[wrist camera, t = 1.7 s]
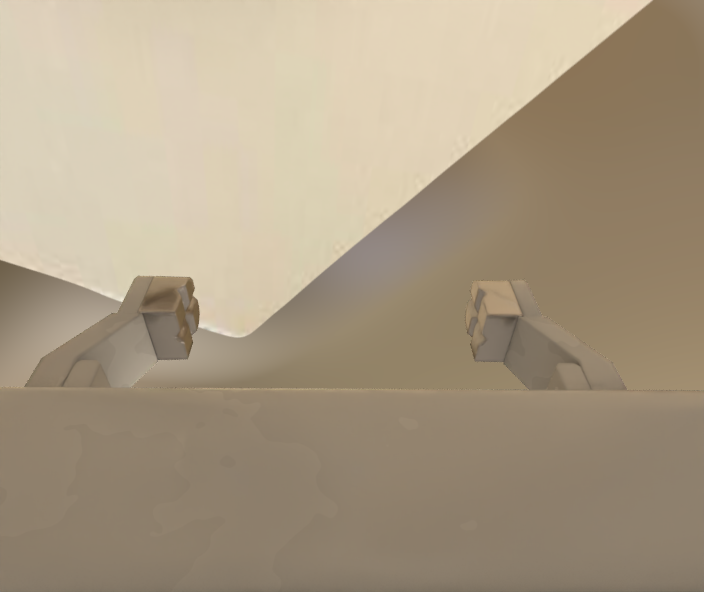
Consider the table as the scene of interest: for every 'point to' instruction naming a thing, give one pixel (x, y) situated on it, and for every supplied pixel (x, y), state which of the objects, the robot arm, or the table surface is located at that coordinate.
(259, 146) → the table surface
